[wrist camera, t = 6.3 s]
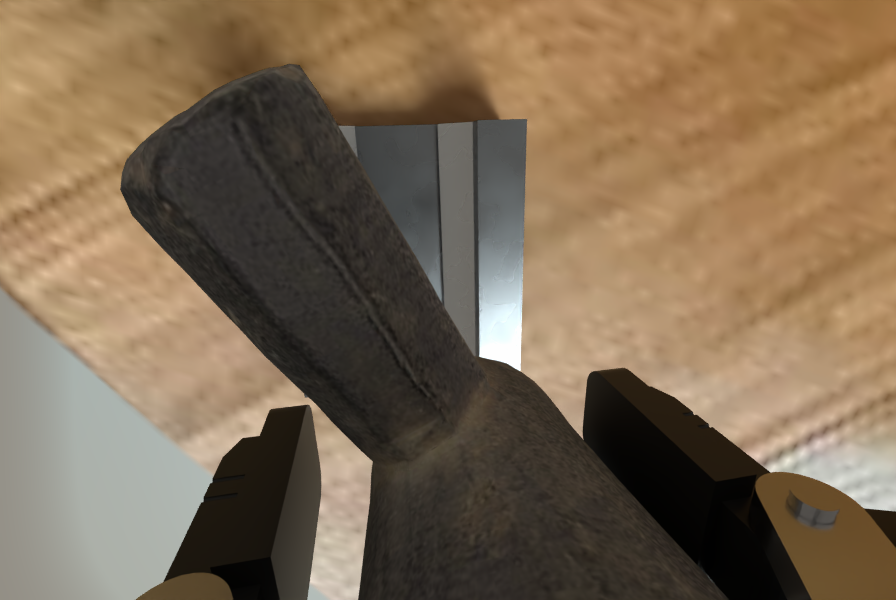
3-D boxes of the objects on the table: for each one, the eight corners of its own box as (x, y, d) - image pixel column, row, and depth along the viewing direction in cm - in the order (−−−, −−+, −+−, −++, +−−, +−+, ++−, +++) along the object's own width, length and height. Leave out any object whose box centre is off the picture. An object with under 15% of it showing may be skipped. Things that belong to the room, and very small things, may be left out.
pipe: (372, 50, 8) (415, -937, 1) (610, 468, 13) (941, 898, 5) (113, 217, 8) (-1922, 718, 1) (441, 572, 13) (538, 1127, 6)
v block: (276, 130, 23) (259, 125, 19) (502, 124, 25) (526, 119, 21) (313, 364, 27) (304, 397, 23) (500, 343, 29) (520, 371, 25)
